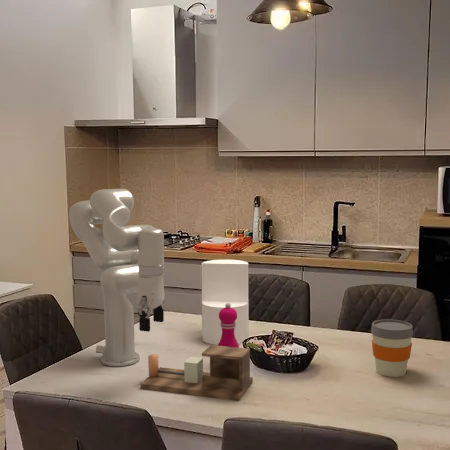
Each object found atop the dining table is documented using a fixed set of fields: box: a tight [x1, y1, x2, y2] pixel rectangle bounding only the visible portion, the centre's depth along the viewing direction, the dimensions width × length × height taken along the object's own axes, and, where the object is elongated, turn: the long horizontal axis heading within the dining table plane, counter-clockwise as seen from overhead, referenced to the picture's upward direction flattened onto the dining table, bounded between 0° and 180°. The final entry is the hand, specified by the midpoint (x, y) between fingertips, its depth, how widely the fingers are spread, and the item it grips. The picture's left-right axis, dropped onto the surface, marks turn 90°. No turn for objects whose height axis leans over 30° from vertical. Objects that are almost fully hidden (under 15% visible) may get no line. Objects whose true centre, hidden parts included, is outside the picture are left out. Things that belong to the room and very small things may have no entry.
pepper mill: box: [217, 303, 240, 348], centre depth 196 cm, size 7×7×20 cm
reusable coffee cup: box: [370, 318, 414, 378], centre depth 187 cm, size 13×13×15 cm
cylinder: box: [201, 259, 250, 346], centre depth 222 cm, size 17×17×28 cm
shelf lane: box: [140, 344, 254, 401], centre depth 177 cm, size 30×14×11 cm, turn 72°
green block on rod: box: [147, 353, 204, 383], centre depth 180 cm, size 16×5×6 cm, turn 72°
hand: (151, 326), depth 181 cm, fingers open, 9 cm apart
